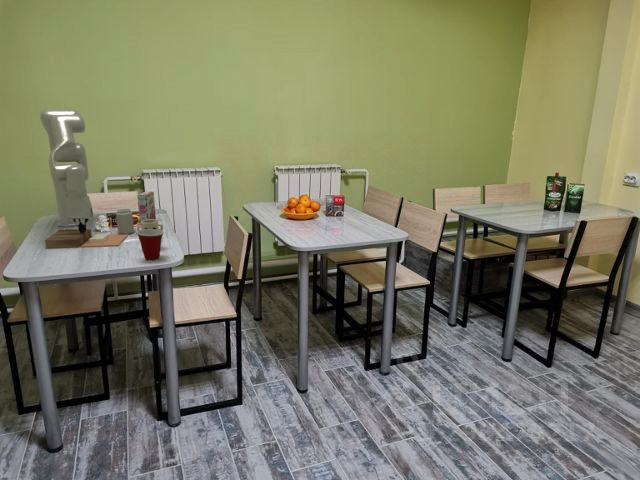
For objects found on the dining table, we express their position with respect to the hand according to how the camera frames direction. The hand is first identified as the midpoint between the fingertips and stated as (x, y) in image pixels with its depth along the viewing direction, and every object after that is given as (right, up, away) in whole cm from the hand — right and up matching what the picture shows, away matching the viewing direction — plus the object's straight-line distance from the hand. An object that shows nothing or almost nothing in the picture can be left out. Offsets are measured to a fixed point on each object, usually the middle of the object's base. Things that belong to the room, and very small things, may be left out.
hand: (82, 232), depth 224 cm
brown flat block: (-6, -5, 0) cm, 8 cm away
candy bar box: (+17, +6, +37) cm, 41 cm away
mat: (+9, -4, +3) cm, 11 cm away
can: (+14, 0, +17) cm, 22 cm away
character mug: (+35, -8, -8) cm, 37 cm away
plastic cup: (+40, -12, -21) cm, 47 cm away
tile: (+7, -3, +1) cm, 8 cm away
